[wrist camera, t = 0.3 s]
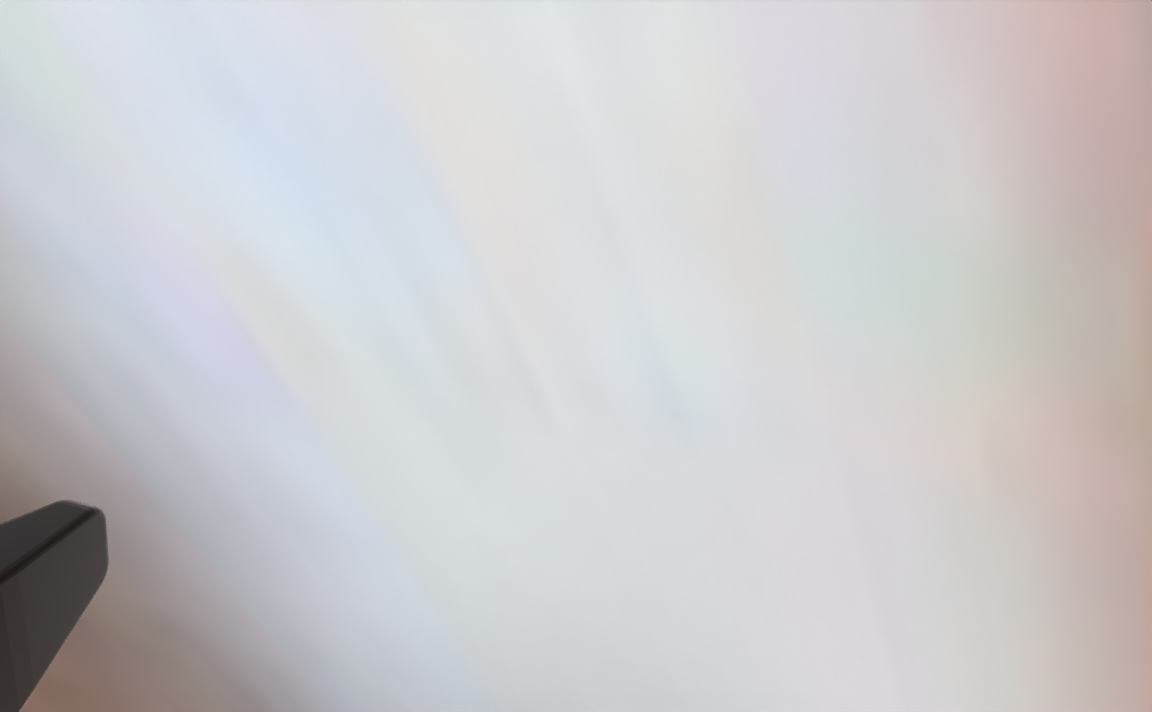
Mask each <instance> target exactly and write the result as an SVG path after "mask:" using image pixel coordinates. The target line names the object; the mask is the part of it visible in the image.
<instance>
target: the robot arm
mask: <svg viewBox="0 0 1152 712" xmlns="http://www.w3.org/2000/svg"><path fill="white" fill-rule="evenodd" d="M108 563H109V558H108V542H107V527H106V517H105V514H104V512H103V511H102V509H100V508H98V507H96V506H92V505H88V504H85V503H81V502H77V501H73V500H61V501H57V502H54V503H52V504H49V505H47V506H44V507H42V508H39V509H37V510H34V511H32V512H29V513H27V514H24V515H22V516H19V517H17V518H14V519H12V520H9V521H7V522H4V523H2V524H0V712H18V711H19V710H20V709H21V707H22V706H23V704H24V703H25V701H26V700H27V698H28V697H29V696H30V694H31V693H32V691H33V690H34V688H35V687H36V685H37V684H38V682H39V680H40V679H41V677H42V676H43V674H44V673H45V671H46V670H47V668H48V666H49V665H50V663H51V662H52V660H53V659H54V657H55V656H56V654H57V653H58V651H59V649H60V648H61V646H62V645H63V643H64V642H65V640H66V639H67V637H68V635H69V634H70V632H71V631H72V629H73V628H74V626H75V625H76V623H77V621H78V620H79V618H80V617H81V615H82V614H83V612H84V611H85V609H86V607H87V606H88V604H89V603H90V601H91V600H92V598H93V597H94V595H95V593H96V592H97V590H98V589H99V587H100V586H101V584H102V582H103V580H104V578H105V576H106V573H107V569H108Z"/></svg>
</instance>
